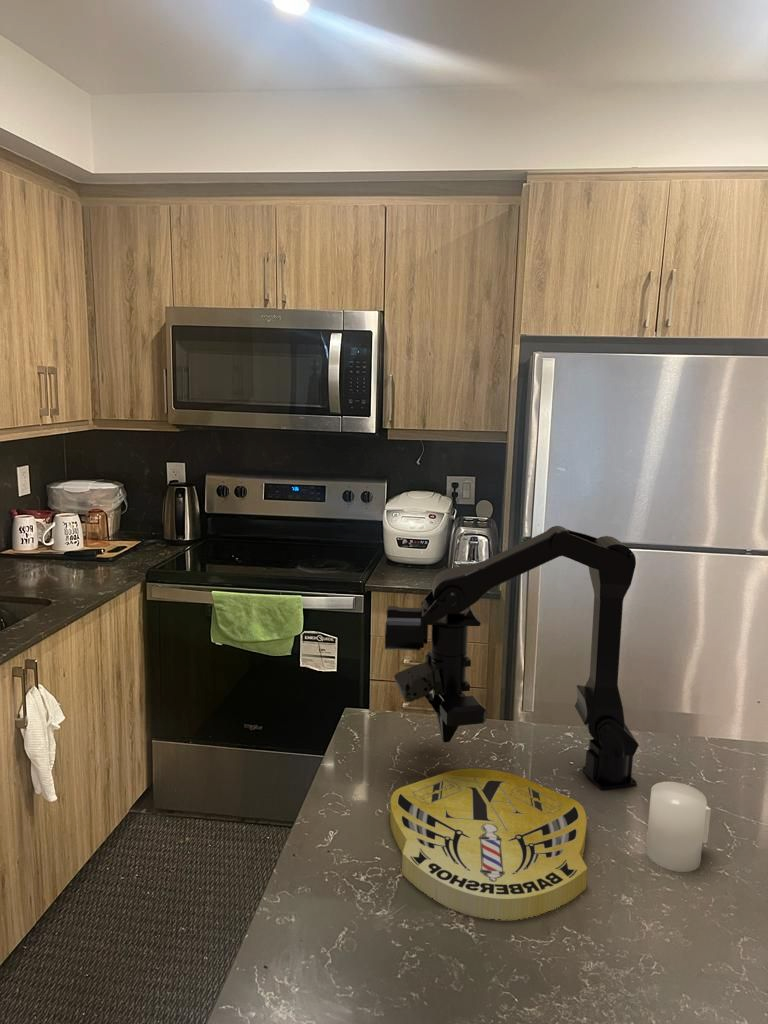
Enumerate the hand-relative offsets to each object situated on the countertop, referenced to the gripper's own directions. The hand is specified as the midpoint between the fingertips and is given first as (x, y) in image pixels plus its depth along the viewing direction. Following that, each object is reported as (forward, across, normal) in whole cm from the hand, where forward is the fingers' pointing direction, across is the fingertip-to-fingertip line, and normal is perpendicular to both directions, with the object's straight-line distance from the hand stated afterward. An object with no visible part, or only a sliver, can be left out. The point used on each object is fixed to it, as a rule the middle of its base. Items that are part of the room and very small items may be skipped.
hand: (445, 741), depth 121 cm
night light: (+6, +27, +24) cm, 36 cm away
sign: (+6, +19, 0) cm, 20 cm away
